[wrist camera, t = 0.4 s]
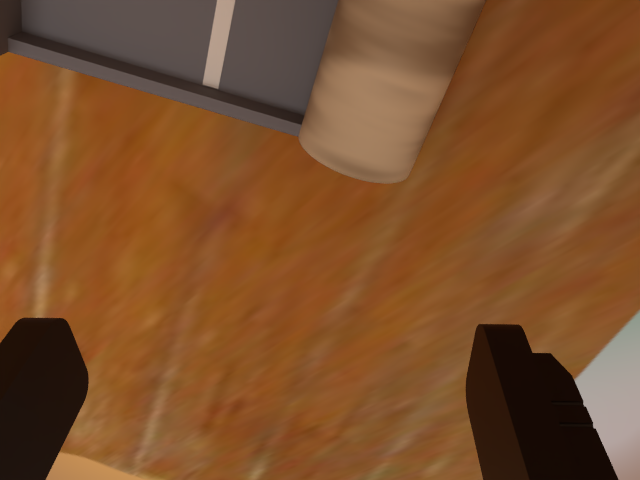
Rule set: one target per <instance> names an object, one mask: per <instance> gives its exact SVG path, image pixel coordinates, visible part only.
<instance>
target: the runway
mask: <svg viewBox="0 0 640 480" xmlns="http://www.w3.org/2000/svg"><path fill="white" fill-rule="evenodd" d="M337 3H338V0H0V55H2V54H4V53H6V52H11V53H15V54H18V55H22V56H25V57H28V58H32V59H35V60H39V61H42V62H46V63H49V64H52V65H56V66H59V67H63V68H66V69H69V70H73V71H76V72H80V73H83V74H86V75H90V76H93V77H97V78H100V79H104V80H107V81H110V82H114V83H117V84H121V85H124V86H127V87H131V88H134V89H138V90H141V91H144V92H148V93H151V94H155V95H158V96H161V97H165V98H168V99H172V100H175V101H179V102H182V103H185V104H189V105H192V106H196V107H199V108H202V109H206V110H209V111H213V112H216V113H219V114H223V115H226V116H230V117H233V118H236V119H240V120H243V121H247V122H250V123H254V124H257V125H260V126H264V127H267V128H271V129H274V130H277V131H281V132H284V133H288V134H291V135H294V136H298V137H299V132H300V129H301V126H302V122H303V119H304V115H305V112H306V109H307V105H308V102H309V98H310V95H311V92H312V88H313V85H314V82H315V78H316V75H317V71H318V68H319V65H320V61H321V58H322V54H323V51H324V48H325V44H326V41H327V37H328V34H329V31H330V27H331V24H332V20H333V17H334V14H335V10H336V7H337Z"/></svg>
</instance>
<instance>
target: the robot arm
mask: <svg viewBox="0 0 640 480" xmlns="http://www.w3.org/2000/svg"><path fill="white" fill-rule="evenodd" d="M87 391H88V371H87V368H86V366H85V363H84V361H83V358H82V356H81V353H80V351H79V348H78V346H77V343H76V341H75V338H74V336H73V333H72V331H71V328H70V326H69V324H68V322H67V321H66V320H65V319H63V318H22V319H20V320H18V321H17V322H16V323H15V324H14V326H13V327H12V328H11V330H10V331H9V332H8V334H7V335H6V336H5V338H4V339H3V340H2V342H1V343H0V480H46V477H47V476H48V474H49V471H50V469H51V467H52V465H53V463H54V461H55V459H56V457H57V455H58V453H59V451H60V449H61V447H62V445H63V443H64V441H65V439H66V437H67V435H68V433H69V431H70V429H71V427H72V425H73V423H74V421H75V419H76V417H77V415H78V413H79V411H80V409H81V407H82V405H83V403H84V401H85V398H86V395H87ZM466 402H467V409H468V414H469V418H470V422H471V427H472V431H473V436H474V440H475V445H476V449H477V454H478V458H479V463H480V467H481V471H482V476H483V480H618V478H617V475H616V473H615V471H614V469H613V466H612V464H611V462H610V460H609V457H608V456H607V453H606V451H605V449H604V446H603V444H602V442H601V440H600V438H599V435H598V433H597V431H596V429H594V428H593V422H592V420H591V417H590V415H589V413H588V411H587V408H586V407H584V405H583V399H582V397H581V395H580V393H579V390H578V388H577V386H576V384H575V381H574V379H573V377H572V375H571V374H570V373H569V372H568V371H567V370H566V369H565V368H564V367H563V366H562V365H561V364H560V363H559V362H558V361H557V360H556V359H555V358H554V356H553V355H552V354H551V353H532V351H531V348H530V345H529V343H528V340H527V338H526V335H525V332H524V330H523V328H522V327H521V326H520V325H508V324H479V325H478V326H477V328H476V332H475V337H474V342H473V347H472V352H471V357H470V362H469V367H468V372H467V378H466Z"/></svg>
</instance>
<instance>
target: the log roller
mask: <svg viewBox="0 0 640 480" xmlns="http://www.w3.org/2000/svg"><path fill="white" fill-rule="evenodd" d="M485 2H486V0H338V3H337V7H336V10H335V14H334V17H333V20H332V24H331V27H330V31H329V34H328V37H327V41H326V44H325V48H324V51H323V54H322V58H321V61H320V65H319V68H318V71H317V75H316V78H315V82H314V85H313V88H312V92H311V95H310V98H309V102H308V105H307V109H306V112H305V115H304V119H303V122H302V126H301V129H300V132H299V142H300V144H301V146H302V147H303V148H304V150H305V151H306V152H307V153H308V154H309V155H311V156H312V157H313V158H314V159H316V160H317V161H318V162H320V163H322V164H323V165H325V166H327V167H329V168H331V169H332V170H335V171H337V172H339V173H341V174H344V175H347V176H350V177H353V178H356V179H360V180H363V181H368V182H375V183H396V182H400V181H403V180H405V179H406V178H407V177H408V176H409V174H410V172H411V170H412V168H413V165H414V163H415V161H416V158H417V156H418V154H419V152H420V149H421V147H422V145H423V143H424V140H425V138H426V136H427V134H428V131H429V129H430V127H431V124H432V122H433V120H434V118H435V115H436V113H437V111H438V109H439V106H440V104H441V102H442V99H443V97H444V95H445V93H446V90H447V88H448V86H449V84H450V81H451V79H452V77H453V75H454V72H455V70H456V68H457V65H458V63H459V61H460V59H461V56H462V54H463V52H464V50H465V47H466V45H467V43H468V40H469V38H470V36H471V34H472V31H473V29H474V27H475V25H476V22H477V20H478V18H479V16H480V13H481V11H482V9H483V6H484V4H485Z"/></svg>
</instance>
